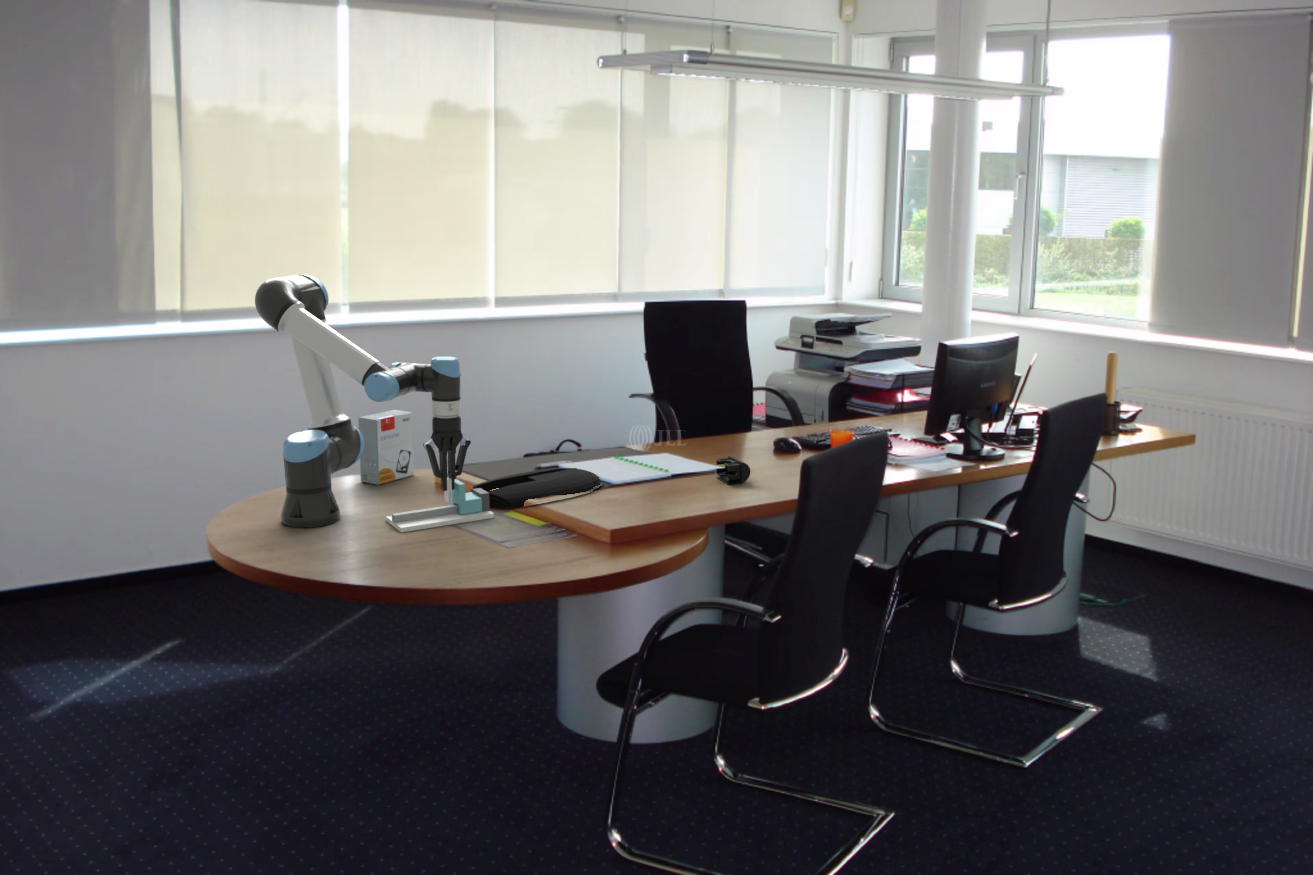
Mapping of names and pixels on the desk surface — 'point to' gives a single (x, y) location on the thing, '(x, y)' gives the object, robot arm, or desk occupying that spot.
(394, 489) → the desk surface
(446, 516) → the rail board
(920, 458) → the desk surface
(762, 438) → the desk surface
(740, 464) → the black plastic connector
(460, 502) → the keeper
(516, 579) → the desk surface
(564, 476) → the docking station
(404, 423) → the hard drive box
